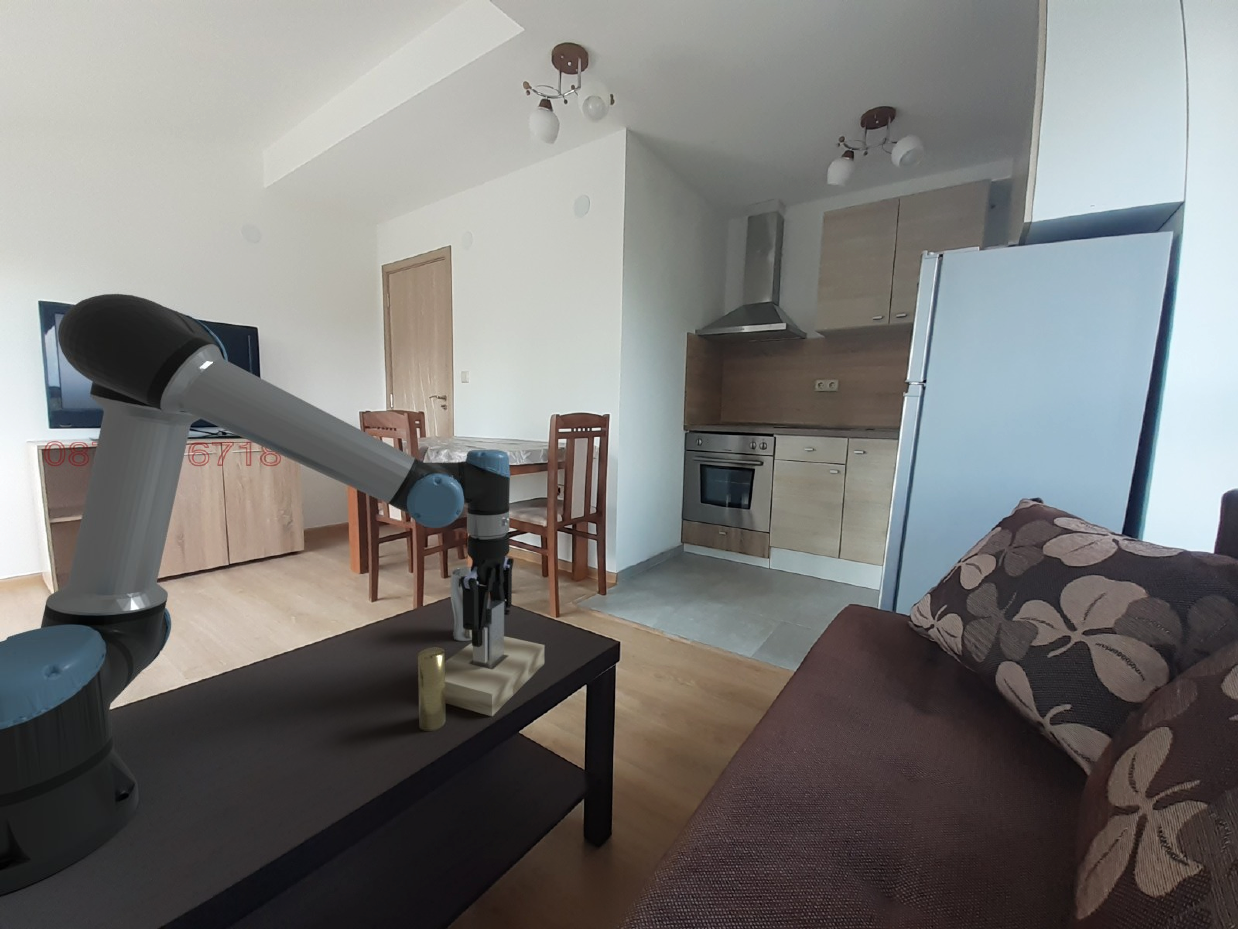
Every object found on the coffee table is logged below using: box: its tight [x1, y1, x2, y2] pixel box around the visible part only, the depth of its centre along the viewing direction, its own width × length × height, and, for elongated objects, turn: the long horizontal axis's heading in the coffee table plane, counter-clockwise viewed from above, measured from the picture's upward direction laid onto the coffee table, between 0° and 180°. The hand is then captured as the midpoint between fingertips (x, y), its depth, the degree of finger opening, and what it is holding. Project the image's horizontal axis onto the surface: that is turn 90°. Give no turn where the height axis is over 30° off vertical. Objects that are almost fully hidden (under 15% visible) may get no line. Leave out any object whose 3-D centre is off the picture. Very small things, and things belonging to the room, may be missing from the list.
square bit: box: [473, 597, 505, 670], centre depth 89 cm, size 4×4×14 cm
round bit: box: [417, 646, 446, 732], centre depth 76 cm, size 4×4×12 cm
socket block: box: [445, 635, 545, 717], centre depth 90 cm, size 18×14×4 cm
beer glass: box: [449, 566, 484, 642], centre depth 106 cm, size 7×7×15 cm
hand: (488, 653), depth 89 cm, fingers open, 4 cm apart
